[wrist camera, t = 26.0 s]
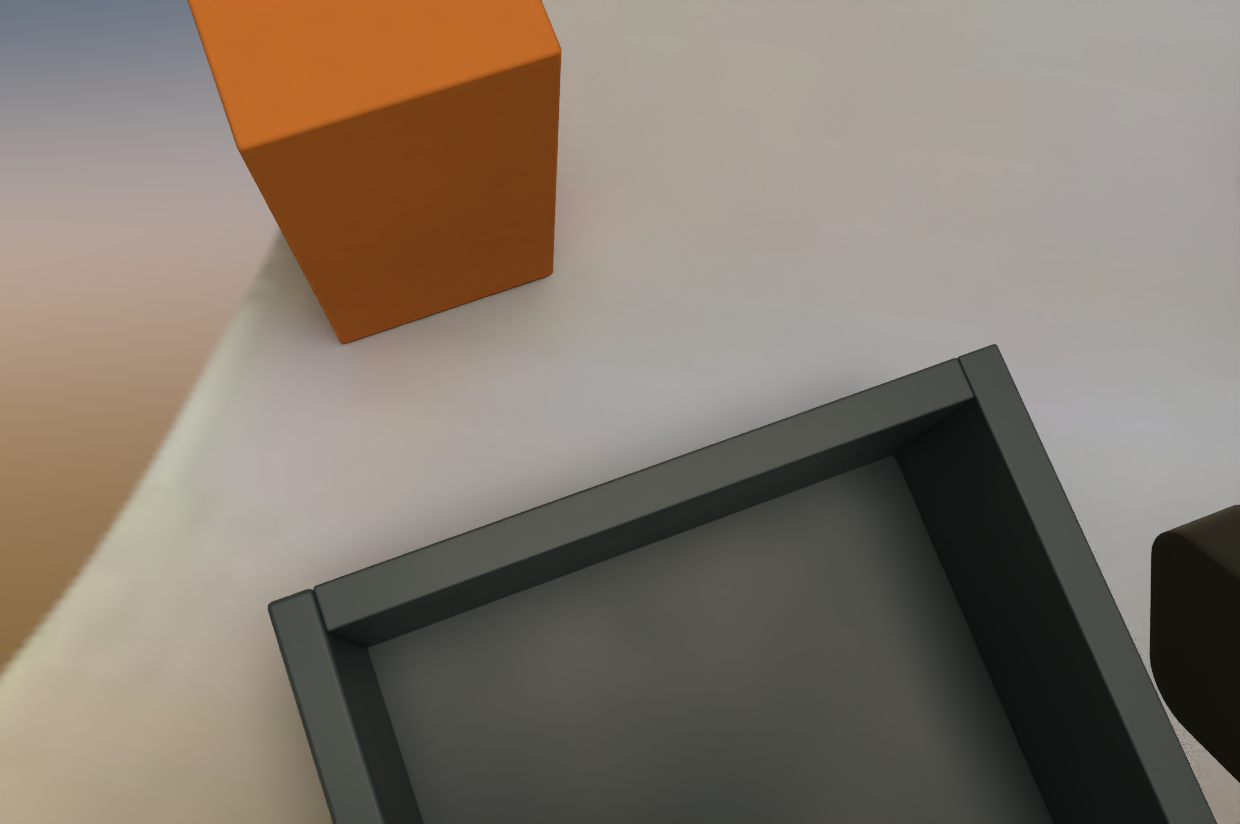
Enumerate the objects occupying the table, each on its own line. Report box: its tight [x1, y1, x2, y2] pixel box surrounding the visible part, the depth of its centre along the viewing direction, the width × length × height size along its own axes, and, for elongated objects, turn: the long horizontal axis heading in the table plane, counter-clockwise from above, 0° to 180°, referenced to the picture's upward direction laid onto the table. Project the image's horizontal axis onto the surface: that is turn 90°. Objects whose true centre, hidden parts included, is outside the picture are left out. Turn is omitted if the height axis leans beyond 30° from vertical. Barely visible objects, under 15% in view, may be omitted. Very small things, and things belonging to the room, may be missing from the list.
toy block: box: [188, 0, 561, 343], centre depth 23 cm, size 5×5×10 cm
